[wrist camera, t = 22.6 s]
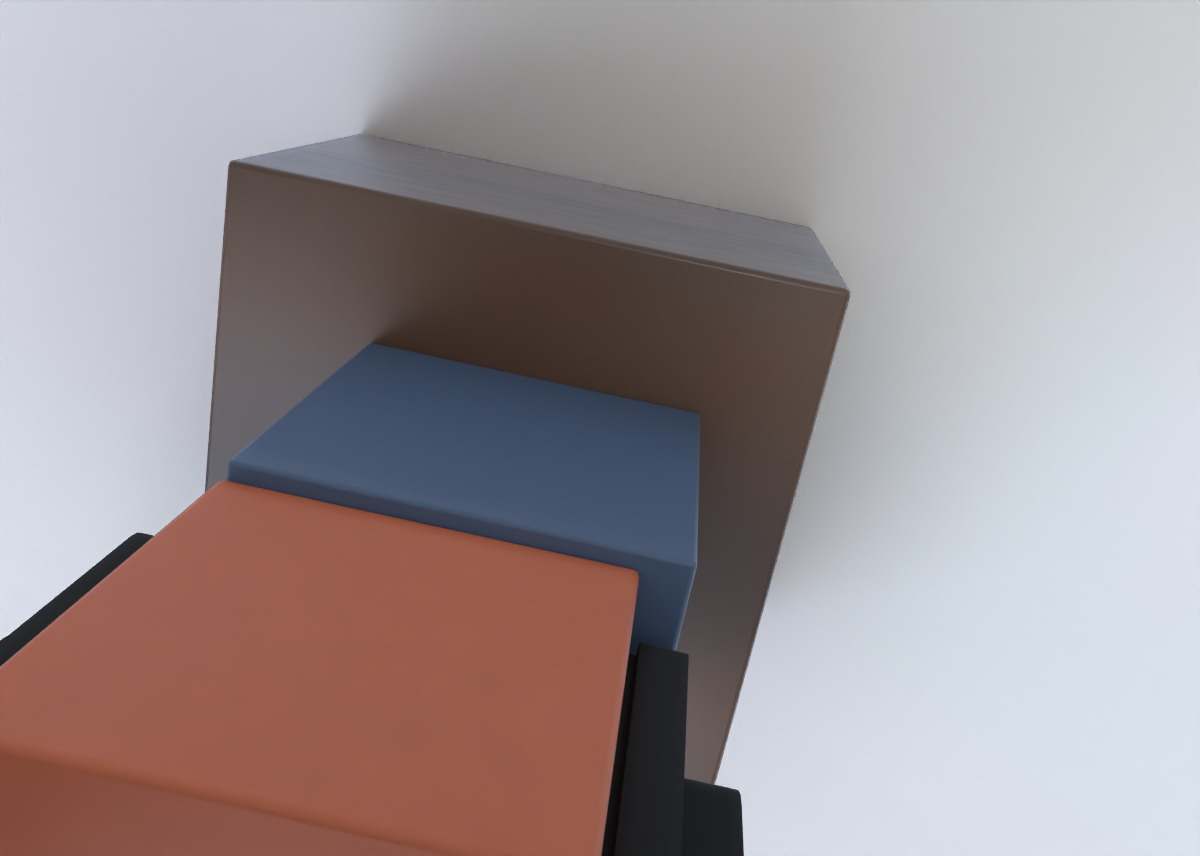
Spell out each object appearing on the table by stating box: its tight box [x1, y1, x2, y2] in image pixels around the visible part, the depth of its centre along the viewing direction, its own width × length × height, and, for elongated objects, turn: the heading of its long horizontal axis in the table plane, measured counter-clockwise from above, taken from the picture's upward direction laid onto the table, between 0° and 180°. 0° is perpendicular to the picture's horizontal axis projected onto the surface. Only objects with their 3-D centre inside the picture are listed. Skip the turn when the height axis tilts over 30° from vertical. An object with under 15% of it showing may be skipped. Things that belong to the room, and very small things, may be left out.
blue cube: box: [226, 343, 700, 656], centre depth 14 cm, size 5×5×5 cm
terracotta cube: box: [0, 481, 639, 856], centre depth 10 cm, size 4×4×4 cm
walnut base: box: [205, 134, 850, 785], centre depth 19 cm, size 9×9×6 cm
